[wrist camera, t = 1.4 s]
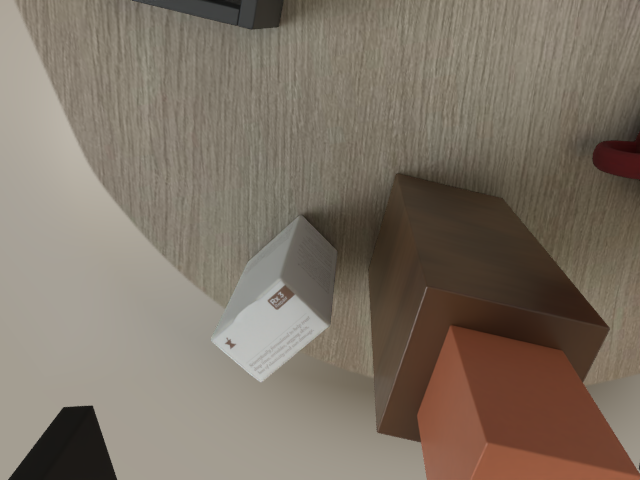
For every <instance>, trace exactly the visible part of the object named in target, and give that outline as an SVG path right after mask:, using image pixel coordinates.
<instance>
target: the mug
mask: <svg viewBox="0 0 640 480" xmlns="http://www.w3.org/2000/svg"><path fill="white" fill-rule="evenodd" d="M592 159H593V164H594V165H595V166H596V167H597V168H598V169H599V170H601V171H604V172H606V173H609V174H613V175H617V176H621V177H626V178H633V179H639V180H640V131H639V133H638V135H637V137H636V140H635V141H603V142H601V143H599V144H598V145H597V146H596V147H595V149H594V152H593V158H592Z"/></svg>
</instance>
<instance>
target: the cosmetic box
mask: <svg viewBox="0 0 640 480" xmlns="http://www.w3.org/2000/svg"><path fill="white" fill-rule="evenodd" d="M336 261H337V250H336V249H335V248H334V247H333V246H332V245H331V244H330V243H329V242H328V241H327V240H326V239H325V238H324V237H323V236H322V235H321V234H320V233H319V232H318V231H317V230H316V229H315V228H314V227H313V226H312V225H311V224H310V223H309V222H308V221H307V220H306V219H305V218H304V217H303V216H302V215H299V216H298V217H297V218H296V219H295V220H294V221H293V222H292V223H290V224H289V225H288V226H287V227H286V228H285V229H284V230H283V231H281V232H280V233H279V234H278V235H277V236H276V237H275V238H274V239H273V240H271V241H270V242H269V243H268V244H267V245H266V246H265V247H264V248H263V249H261V250H260V251H259V252H258V253H257V254H256V255H255V256H254V257H253V258H251V259H250V260H249V261H248V263H247V265H246V267H245V269H244V271H243V273H242V275H241V277H240V279H239V282H238V284H237V286H236V288H235V290H234V292H233V294H232V296H231V298H230V300H229V302H228V305H227V307H226V309H225V311H224V313H223V315H222V317H221V319H220V321H219V323H218V325H217V327H216V329H215V331H214V333H213V336H212V338H211V341H212V342H213V343H214V344H215V345H216V346H217V347H218V348H220V349H221V350H222V351H223V352H224V353H226V354H227V355H228V356H229V357H230V358H232V359H233V360H234V361H235V362H236V363H237V364H239V365H240V366H241V367H242V368H243V369H244V370H245V371H247V372H248V373H249V374H250V375H252V376H253V377H254V378H256V379H257V380H258V381H259V382H263V381H264V380H265V379H266V378H268V377H269V376H270V375H271V374H272V373H273V372H275V371H276V370H277V369H278V368H280V367H281V366H282V365H283V364H284V363H286V362H287V361H288V360H289V359H290V358H292V357H293V356H294V355H295V354H296V353H298V352H299V351H300V350H301V349H302V348H304V347H305V346H306V345H307V344H308V343H310V342H311V341H312V340H313V339H314V338H316V337H317V336H318V335H319V334H321V333H322V332H323V331H324V330H325V329H326V328H328V327H329V326H330V323H331V312H332V302H333V293H334V282H335V272H336Z"/></svg>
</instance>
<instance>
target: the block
mask: <svg viewBox="0 0 640 480" xmlns="http://www.w3.org/2000/svg"><path fill="white" fill-rule="evenodd" d="M417 419H418V425H419V431H420V438H421V444H422V450H423V457H424V464H425V470H426V476H427V480H640V473H639V472H638V471H637V469H636V467H635V466H634V464H633V462H632V461H631V459H630V458H629V456H628V454H627V453H626V451H625V450H624V448H623V446H622V445H621V443H620V442H619V440H618V438H617V437H616V435H615V434H614V432H613V431H612V429H611V427H610V426H609V424H608V422H607V421H606V419H605V418H604V416H603V415H602V413H601V411H600V410H599V408H598V406H597V405H596V403H595V402H594V400H593V398H592V397H591V395H590V394H589V392H588V391H587V389H586V387H585V386H584V384H583V383H582V381H581V379H580V378H579V376H578V375H577V373H576V371H575V370H574V368H573V367H572V365H571V363H570V362H569V360H568V359H567V357H566V355H565V354H564V352H563V351H562V350H557V349H553V348H549V347H544V346H540V345H536V344H531V343H527V342H523V341H518V340H514V339H510V338H505V337H501V336H497V335H492V334H488V333H483V332H479V331H475V330H470V329H466V328H462V327H457V326H453V325H451V326H450V328H449V330H448V333H447V336H446V338H445V341H444V344H443V346H442V349H441V352H440V355H439V357H438V360H437V363H436V365H435V368H434V371H433V373H432V376H431V379H430V382H429V384H428V387H427V390H426V392H425V395H424V398H423V400H422V403H421V406H420V409H419V411H418V414H417Z"/></svg>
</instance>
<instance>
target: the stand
mask: <svg viewBox="0 0 640 480" xmlns="http://www.w3.org/2000/svg"><path fill="white" fill-rule="evenodd" d="M368 272H369V291H370V310H371V329H372V349H373V368H374V385H375V386H374V387H375V406H376V425H377V432H378V433H381V434H385V435H390V436H394V437H399V438H403V439H408V440H413V441H417V442H421V438H420V431H419V425H418V419H417V414H418V411H419V409H420V406H421V403H422V400H423V398H424V395H425V392H426V390H427V387H428V384H429V382H430V379H431V376H432V373H433V371H434V368H435V365H436V363H437V360H438V357H439V355H440V352H441V349H442V346H443V344H444V341H445V338H446V336H447V333H448V330H449V328H450V326H451V325H453V326H457V327H462V328H466V329H470V330H475V331H479V332H483V333H488V334H492V335H497V336H501V337H505V338H510V339H514V340H518V341H523V342H527V343H531V344H536V345H540V346H544V347H549V348H553V349H557V350H562V351H563V352H564V354H565V355H566V357H567V359H568V360H569V362H570V363H571V365H572V367H573V368H574V370H575V371H576V373H577V375H578V376H579V378H580V379H581V381H582V383H583V382H584V380H585V378H586V376H587V374H588V372H589V370H590V368H591V366H592V364H593V362H594V360H595V358H596V356H597V354H598V352H599V350H600V348H601V346H602V344H603V342H604V340H605V338H606V336H607V334H608V332H609V330H610V328H609V327H608V325H607V324H606V323H605V322H604V321H603V319H602V318H601V317H600V316H599V314H598V313H597V312H596V311H595V310H594V308H593V307H592V306H591V305H590V304H589V302H588V301H587V300H586V299H585V298H584V296H583V295H582V294H581V293H580V291H579V290H578V289H577V288H576V287H575V285H574V284H573V283H572V282H571V281H570V279H569V278H568V277H567V276H566V275H565V273H564V272H563V271H562V270H561V268H560V267H559V266H558V265H557V264H556V262H555V261H554V260H553V259H552V258H551V256H550V255H549V254H548V253H547V252H546V250H545V249H544V248H543V247H542V245H541V244H540V243H539V242H538V241H537V239H536V238H535V237H534V236H533V235H532V233H531V232H530V231H529V230H528V229H527V227H526V226H525V225H524V224H523V222H522V221H521V220H520V219H519V218H518V216H517V215H516V214H515V213H514V212H513V210H512V209H511V208H510V207H509V206H508V204H507V203H506V202H505V201H504V199H502V198H499V197H494V196H490V195H486V194H482V193H477V192H473V191H469V190H465V189H461V188H456V187H452V186H448V185H444V184H440V183H435V182H431V181H427V180H423V179H419V178H414V177H410V176H406V175H402V174H396V176H395V180H394V183H393V186H392V190H391V193H390V197H389V200H388V204H387V207H386V211H385V214H384V218H383V221H382V224H381V228H380V231H379V235H378V238H377V242H376V245H375V249H374V252H373V256H372V259H371V263H370V266H369V269H368Z"/></svg>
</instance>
